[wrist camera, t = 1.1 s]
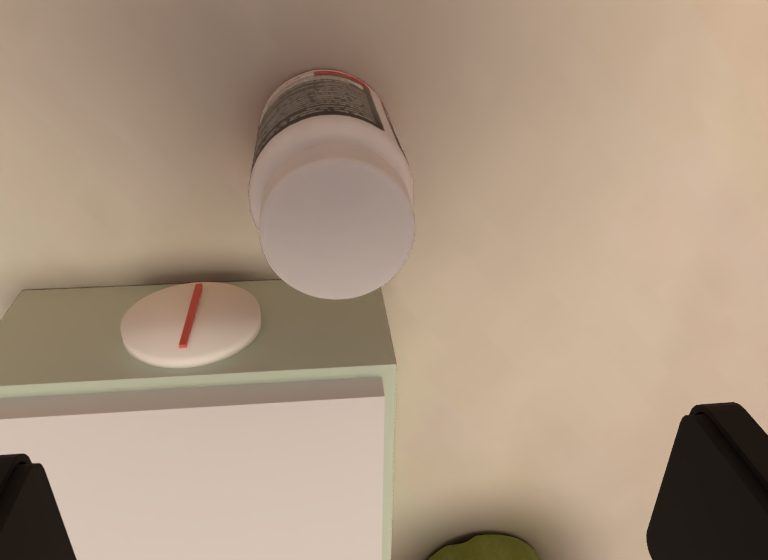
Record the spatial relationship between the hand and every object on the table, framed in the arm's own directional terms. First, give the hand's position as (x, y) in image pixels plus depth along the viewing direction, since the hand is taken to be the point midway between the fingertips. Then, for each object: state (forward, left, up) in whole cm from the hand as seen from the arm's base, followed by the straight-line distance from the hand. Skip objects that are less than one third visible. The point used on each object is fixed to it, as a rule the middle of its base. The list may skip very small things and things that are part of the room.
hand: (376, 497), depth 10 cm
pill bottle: (0, 0, -17) cm, 17 cm away
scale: (+13, -5, -16) cm, 21 cm away
